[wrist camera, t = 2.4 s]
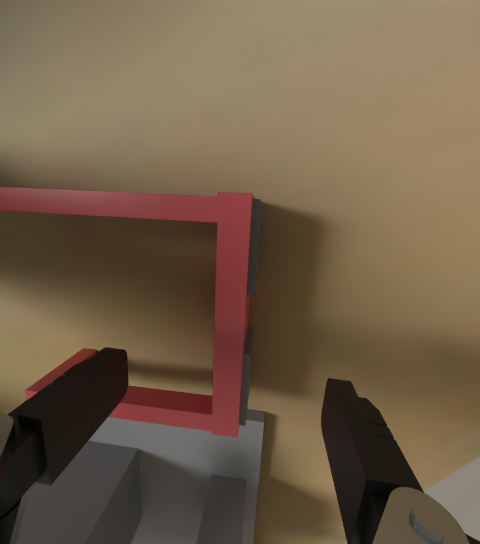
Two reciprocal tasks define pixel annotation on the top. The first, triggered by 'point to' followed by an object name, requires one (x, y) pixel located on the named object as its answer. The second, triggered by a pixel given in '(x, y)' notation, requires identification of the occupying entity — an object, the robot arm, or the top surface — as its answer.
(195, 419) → the red c-shaped frame
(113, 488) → the stand
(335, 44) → the top surface
